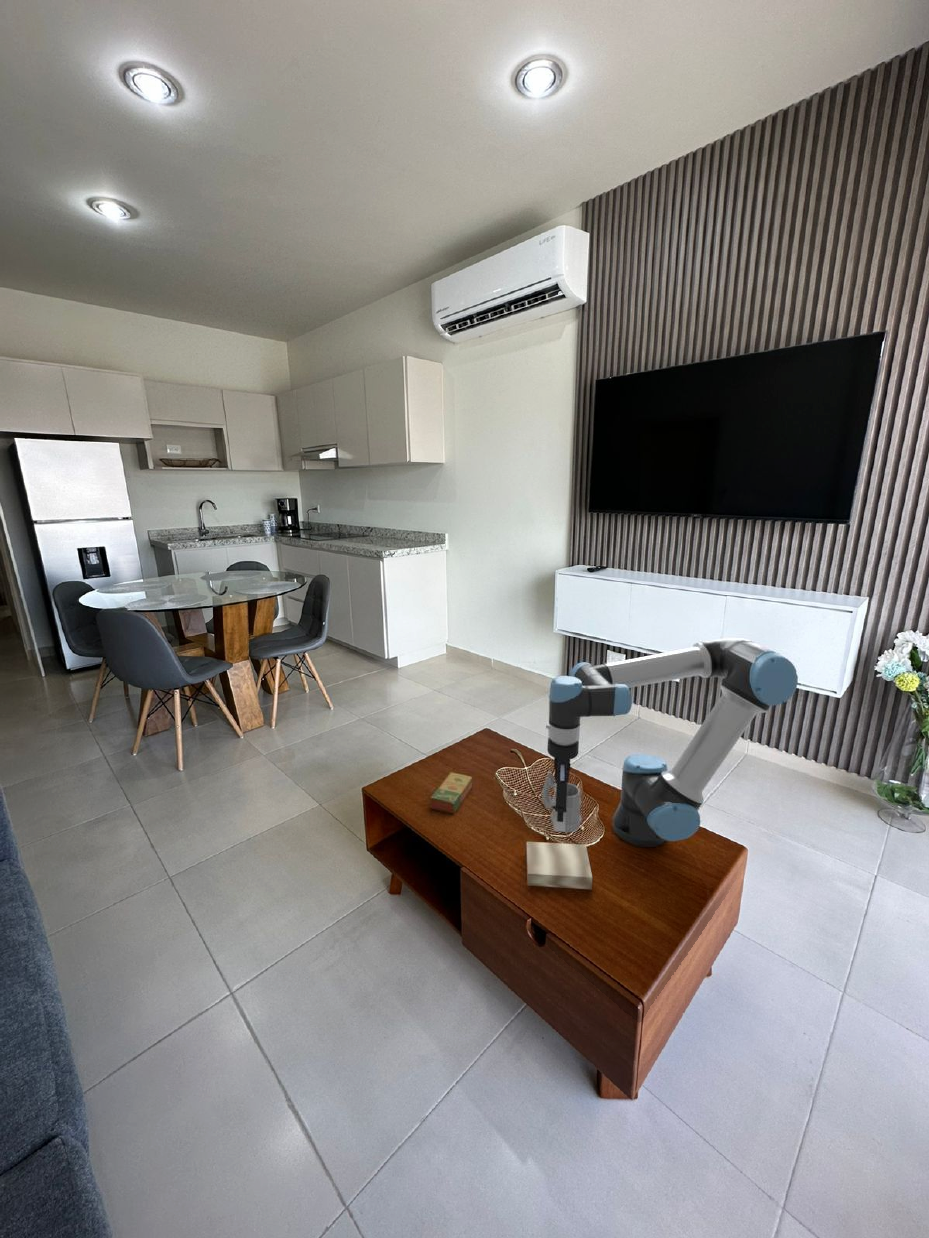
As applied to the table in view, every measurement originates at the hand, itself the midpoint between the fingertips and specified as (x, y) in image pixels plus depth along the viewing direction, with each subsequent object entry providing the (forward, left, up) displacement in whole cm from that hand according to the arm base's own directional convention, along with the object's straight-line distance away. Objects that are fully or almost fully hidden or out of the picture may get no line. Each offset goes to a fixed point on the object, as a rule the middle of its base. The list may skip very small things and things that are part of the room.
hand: (559, 818), depth 131 cm
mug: (0, -1, -1) cm, 1 cm away
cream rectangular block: (0, 0, -16) cm, 16 cm away
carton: (+34, -27, -16) cm, 47 cm away
